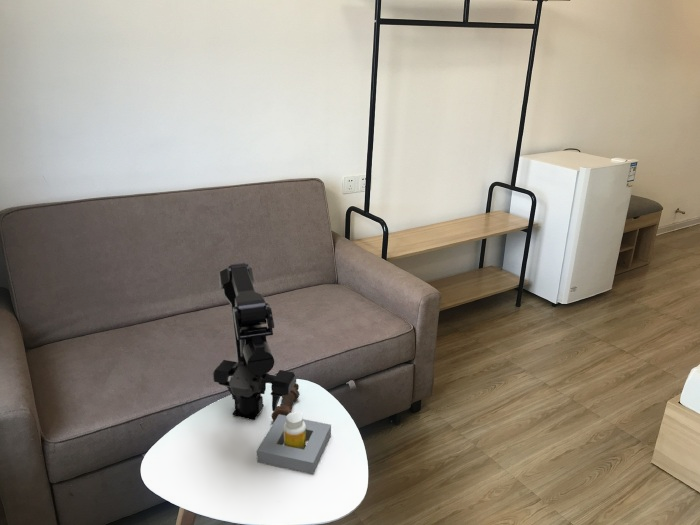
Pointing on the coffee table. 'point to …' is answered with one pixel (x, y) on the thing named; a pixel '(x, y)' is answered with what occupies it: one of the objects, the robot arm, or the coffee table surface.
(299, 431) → the supplement bottle
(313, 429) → the socket block
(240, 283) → the robot arm
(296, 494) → the coffee table surface
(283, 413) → the bolt
